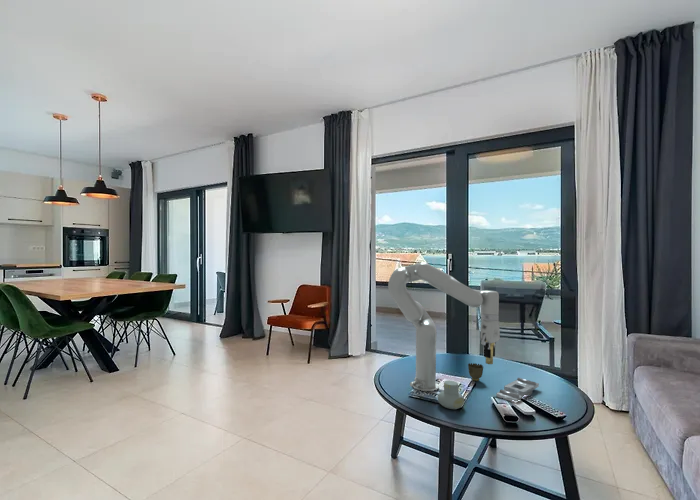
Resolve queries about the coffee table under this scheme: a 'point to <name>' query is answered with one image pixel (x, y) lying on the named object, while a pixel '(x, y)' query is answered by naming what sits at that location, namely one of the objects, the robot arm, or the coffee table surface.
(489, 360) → the brass pin
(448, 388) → the air freshener
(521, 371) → the coffee table surface
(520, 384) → the plate with square hole
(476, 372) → the cup
